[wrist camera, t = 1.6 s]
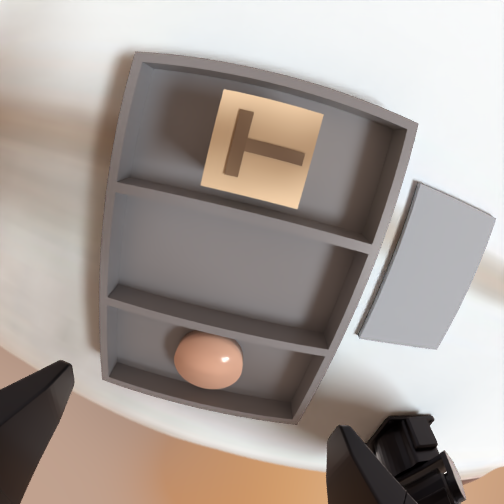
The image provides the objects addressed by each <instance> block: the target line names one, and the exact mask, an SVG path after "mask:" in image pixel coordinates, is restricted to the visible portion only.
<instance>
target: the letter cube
mask: <svg viewBox="0 0 504 504" xmlns="http://www.w3.org/2000/svg"><path fill="white" fill-rule="evenodd" d="M323 115H324V114H320V113H317V112H314V111H311V110H307V109H304V108H300V107H297V106H293V105H290V104H286V103H282V102H278V101H275V100H271V99H267V98H262V97H258V96H254V95H250V94H245V93H240V92H236V91H231V90H226V89H224V90H223V94H222V98H221V101H220V105H219V109H218V113H217V117H216V121H215V125H214V129H213V133H212V137H211V141H210V146H209V150H208V154H207V158H206V163H205V167H204V172H203V176H202V181H201V186H205V187H209V188H214V189H218V190H222V191H227V192H231V193H235V194H239V195H243V196H247V197H251V198H255V199H259V200H263V201H267V202H271V203H275V204H279V205H283V206H287V207H290V208H294V209H298V205H299V202H300V199H301V195H302V192H303V188H304V185H305V181H306V178H307V174H308V170H309V167H310V163H311V160H312V156H313V152H314V149H315V145H316V141H317V138H318V134H319V130H320V127H321V123H322V119H323Z"/></svg>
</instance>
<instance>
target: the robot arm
mask: <svg viewBox="0 0 504 504" xmlns="http://www.w3.org/2000/svg"><path fill="white" fill-rule="evenodd" d="M73 386H74V375H73V368H72V365H71V364H70V363H68V362H65V361H63V360H59V361H57V362H55V363H53V364H51V365H49V366H47V367H45V368H43V369H41V370H39V371H37V372H35V373H33V374H31V375H29V376H27V377H25V378H23V379H21V380H19V381H17V382H15V383H13V384H11V385H9V386H7V387H5V388H3V389H1V390H0V504H20V503H21V500H22V498H23V496H24V493H25V491H26V489H27V487H28V485H29V482H30V480H31V478H32V475H33V474H34V471H35V469H36V467H37V465H38V463H39V461H40V459H41V457H42V455H43V453H44V451H45V449H46V447H47V445H48V443H49V441H50V439H51V437H52V435H53V433H54V431H55V429H56V427H57V425H58V424H59V422H60V419H61V417H62V414H63V412H64V409H65V406H66V404H67V401H68V399H69V396H70V394H71V391H72V389H73ZM433 421H434V418H433V416H391V417H388V418H387V419H386V420H385V421H384V423H383V424H382V425H381V427H380V428H379V429H378V430H377V432H376V433H375V434H374V435H373V437H372V438H371V439H370V440H369V441H368V443H367V444H365V443H364V442H363V441H362V440H361V438H360V437H359V436H358V435H357V434H356V432H355V431H354V430H353V429H352V428H351V427H350V426H347V425H339V426H337V427H336V429H335V430H334V431H333V433H332V434H331V436H330V437H329V439H328V442H327V469H326V483H327V495H328V504H461V502H463V501H465V500H466V496H465V493H464V489H463V485H462V482H461V478H460V475H459V473H458V471H457V469H456V467H455V464H454V462H453V461H452V459H451V458H450V457H449V455H448V454H447V453H446V451H445V450H444V451H443V452H441V453H440V454H439V452H438V449H437V445H438V443H437V441H436V439H435V436H434V434H433V432H432V430H431V428H430V425H431V424H432V422H433ZM446 471H447V473H446V474H444V473H445V472H446Z"/></svg>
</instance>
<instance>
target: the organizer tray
mask: <svg viewBox="0 0 504 504" xmlns="http://www.w3.org/2000/svg"><path fill="white" fill-rule="evenodd" d="M224 89H226V90H231V91H236V92H240V93H245V94H250V95H254V96H258V97H262V98H267V99H271V100H275V101H278V102H282V103H286V104H290V105H293V106H297V107H300V108H304V109H307V110H311V111H314V112H317V113H320V114H324V115H323V119H322V123H321V127H320V130H319V134H318V138H317V141H316V145H315V149H314V152H313V156H312V160H311V163H310V167H309V170H308V174H307V178H306V181H305V185H304V188H303V192H302V195H301V199H300V202H299V205H298V209H294V208H290V207H287V206H283V205H279V204H275V203H271V202H267V201H263V200H259V199H255V198H251V197H247V196H243V195H239V194H235V193H231V192H227V191H222V190H218V189H214V188H209V187H205V186H201V181H202V176H203V172H204V167H205V163H206V158H207V154H208V150H209V146H210V141H211V137H212V133H213V129H214V125H215V121H216V117H217V113H218V109H219V105H220V101H221V98H222V94H223V90H224ZM417 128H418V123H416V122H414V121H412V120H410V119H407V118H405V117H403V116H401V115H398V114H396V113H394V112H391V111H389V110H386V109H384V108H382V107H379V106H377V105H374V104H372V103H369V102H366V101H364V100H361V99H358V98H356V97H353V96H350V95H347V94H345V93H342V92H339V91H336V90H333V89H330V88H327V87H323V86H320V85H317V84H314V83H310V82H307V81H304V80H300V79H297V78H293V77H289V76H285V75H282V74H278V73H274V72H270V71H265V70H261V69H257V68H252V67H247V66H242V65H237V64H232V63H227V62H221V61H215V60H209V59H203V58H196V57H188V56H180V55H171V54H161V53H149V52H135V55H134V58H133V62H132V65H131V69H130V73H129V76H128V80H127V84H126V88H125V92H124V96H123V100H122V105H121V109H120V114H119V118H118V123H117V128H116V133H115V138H114V144H113V150H112V155H111V162H110V168H109V175H108V182H107V190H106V198H105V207H104V216H103V227H102V240H101V256H100V282H99V328H100V353H101V369H102V380H105V381H108V382H111V383H113V384H116V385H119V386H122V387H125V388H128V389H131V390H135V391H138V392H141V393H144V394H148V395H151V396H154V397H158V398H162V399H165V400H169V401H173V402H176V403H180V404H184V405H188V406H192V407H197V408H201V409H205V410H210V411H215V412H219V413H224V414H230V415H235V416H240V417H246V418H252V419H258V420H265V421H272V422H279V423H287V424H295V425H297V424H298V422H299V420H300V419H301V417H302V415H303V413H304V412H305V410H306V408H307V406H308V405H309V403H310V401H311V399H312V397H313V395H314V394H315V392H316V390H317V388H318V386H319V384H320V382H321V381H322V379H323V377H324V375H325V373H326V371H327V369H328V367H329V365H330V363H331V361H332V359H333V357H334V355H335V353H336V351H337V349H338V347H339V345H340V342H341V340H342V338H343V336H344V334H345V332H346V330H347V328H348V325H349V323H350V321H351V319H352V316H353V314H354V312H355V310H356V307H357V305H358V303H359V301H360V298H361V296H362V293H363V291H364V289H365V286H366V284H367V281H368V279H369V276H370V274H371V271H372V269H373V266H374V264H375V261H376V259H377V256H378V253H379V251H380V248H381V245H382V243H383V240H384V237H385V234H386V231H387V229H388V226H389V223H390V220H391V217H392V214H393V211H394V208H395V205H396V202H397V199H398V196H399V193H400V189H401V186H402V183H403V179H404V176H405V173H406V169H407V166H408V162H409V159H410V155H411V151H412V148H413V144H414V140H415V136H416V132H417ZM193 330H198V331H202V332H206V333H210V334H214V335H219V336H223V337H227V338H232V339H235V340H236V341H237V342H238V344H239V345H240V347H241V349H242V352H243V367H242V373H241V375H240V377H239V379H238V380H237V381H236V382H235V383H233V384H232V385H230V386H228V387H225V388H221V389H205V388H201V387H198V386H195V385H193V384H191V383H189V382H188V381H186V380H185V379H184V378H183V377H182V376H181V375H180V374H179V373H178V371H177V369H176V367H175V363H174V356H175V352H176V350H177V347H178V344H179V342H180V340H181V339H182V338H183V337H184V336H185V335H186V334H187V333H189V332H191V331H193Z"/></svg>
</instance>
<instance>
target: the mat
mask: <svg viewBox="0 0 504 504" xmlns="http://www.w3.org/2000/svg"><path fill="white" fill-rule="evenodd" d="M495 220H496V218H494V217H492V216H490V215H488V214H486V213H484V212H482V211H480V210H478V209H476V208H474V207H472V206H470V205H468V204H466V203H464V202H462V201H460V200H457V199H455V198H453V197H451V196H449V195H446V194H444V193H442V192H440V191H437V190H435V189H433V188H430V187H428V186H426V185H423V184H421V183H418V185H417V188H416V191H415V194H414V197H413V201H412V204H411V207H410V210H409V213H408V216H407V219H406V221H405V224H404V227H403V230H402V233H401V236H400V238H399V241H398V244H397V246H396V249H395V252H394V254H393V257H392V259H391V262H390V264H389V267H388V269H387V272H386V274H385V277H384V279H383V282H382V284H381V286H380V289H379V291H378V293H377V296H376V298H375V300H374V302H373V305H372V307H371V309H370V311H369V314H368V316H367V318H366V320H365V322H364V324H363V326H362V329H361V331H360V333H359V335H358V336H359V339H366V340H372V341H378V342H385V343H391V344H398V345H405V346H413V347H420V348H428V349H436V350H437V348H438V347H439V345H440V343H441V341H442V340H443V338H444V336H445V334H446V332H447V331H448V329H449V327H450V325H451V323H452V321H453V319H454V317H455V315H456V314H457V312H458V310H459V308H460V306H461V304H462V301H463V299H464V297H465V295H466V293H467V291H468V289H469V287H470V284H471V282H472V280H473V278H474V275H475V273H476V271H477V268H478V266H479V264H480V261H481V259H482V256H483V254H484V251H485V248H486V246H487V243H488V240H489V238H490V235H491V232H492V229H493V226H494V223H495Z"/></svg>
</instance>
